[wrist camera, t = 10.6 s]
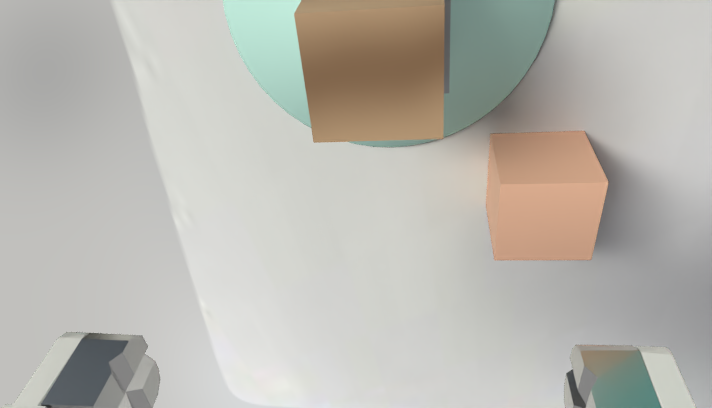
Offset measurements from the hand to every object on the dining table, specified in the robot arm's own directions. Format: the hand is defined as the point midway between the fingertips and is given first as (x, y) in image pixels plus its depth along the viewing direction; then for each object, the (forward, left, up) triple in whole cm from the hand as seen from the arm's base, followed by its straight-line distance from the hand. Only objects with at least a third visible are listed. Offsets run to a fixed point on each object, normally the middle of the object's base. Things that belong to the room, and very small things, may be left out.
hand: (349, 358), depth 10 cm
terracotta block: (-8, +10, -21) cm, 24 cm away
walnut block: (0, 0, -17) cm, 17 cm away
